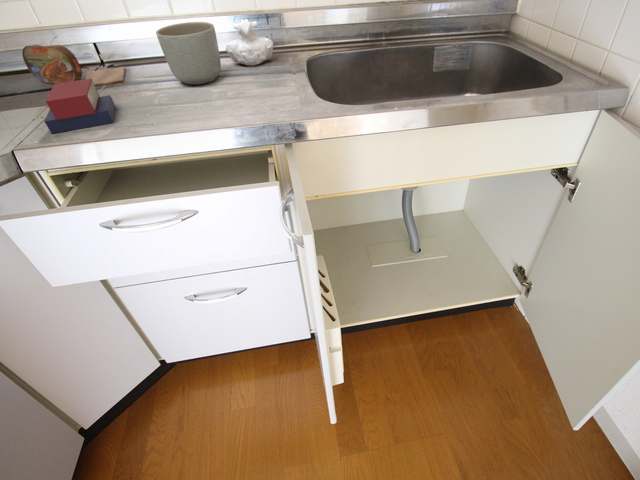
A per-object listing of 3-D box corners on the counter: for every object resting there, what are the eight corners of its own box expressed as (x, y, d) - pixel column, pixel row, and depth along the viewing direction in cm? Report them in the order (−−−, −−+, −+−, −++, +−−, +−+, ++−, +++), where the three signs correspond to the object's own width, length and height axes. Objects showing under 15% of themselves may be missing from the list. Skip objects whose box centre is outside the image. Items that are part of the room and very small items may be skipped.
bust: (231, 75, 102) (221, 44, 91) (227, 49, 103) (217, 16, 92) (277, 70, 103) (273, 39, 92) (273, 44, 104) (268, 11, 93)
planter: (164, 89, 90) (145, 36, 82) (186, 71, 99) (171, 22, 91) (215, 89, 88) (200, 35, 81) (233, 71, 97) (221, 21, 90)
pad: (83, 88, 93) (82, 86, 93) (88, 74, 101) (87, 72, 101) (123, 82, 95) (122, 79, 95) (125, 68, 103) (124, 66, 103)
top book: (56, 120, 73) (45, 101, 71) (63, 101, 80) (54, 84, 78) (95, 113, 75) (86, 94, 72) (99, 95, 82) (91, 78, 79)
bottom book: (51, 134, 75) (44, 121, 73) (58, 116, 81) (51, 104, 79) (113, 122, 77) (107, 110, 75) (115, 106, 83) (110, 94, 82)
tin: (34, 82, 98) (13, 45, 92) (45, 78, 100) (25, 41, 94) (80, 86, 94) (61, 48, 88) (90, 82, 96) (72, 44, 90)
